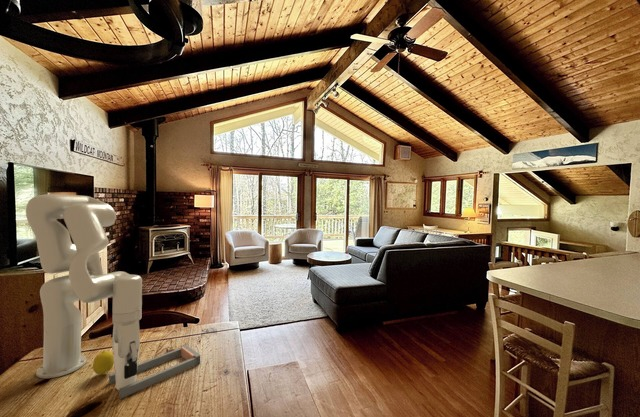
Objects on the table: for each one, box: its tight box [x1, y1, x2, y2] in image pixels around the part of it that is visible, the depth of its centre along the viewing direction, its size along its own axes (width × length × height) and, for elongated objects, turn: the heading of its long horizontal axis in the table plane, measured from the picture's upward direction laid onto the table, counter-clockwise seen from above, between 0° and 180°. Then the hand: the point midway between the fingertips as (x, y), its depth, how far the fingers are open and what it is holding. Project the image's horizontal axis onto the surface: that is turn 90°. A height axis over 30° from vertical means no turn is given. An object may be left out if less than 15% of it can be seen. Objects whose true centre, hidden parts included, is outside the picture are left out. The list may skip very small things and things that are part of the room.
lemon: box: [92, 350, 114, 376], centre depth 91 cm, size 6×6×8 cm
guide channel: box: [108, 344, 201, 399], centre depth 93 cm, size 11×24×3 cm, turn 141°
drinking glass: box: [112, 340, 141, 391], centre depth 86 cm, size 7×7×15 cm
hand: (126, 371), depth 86 cm, fingers open, 6 cm apart
